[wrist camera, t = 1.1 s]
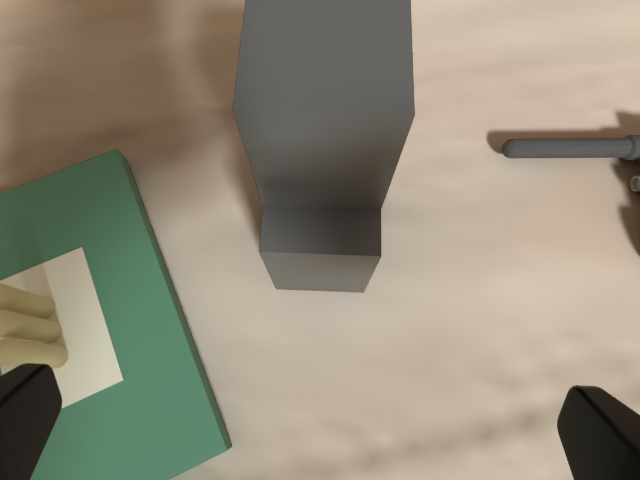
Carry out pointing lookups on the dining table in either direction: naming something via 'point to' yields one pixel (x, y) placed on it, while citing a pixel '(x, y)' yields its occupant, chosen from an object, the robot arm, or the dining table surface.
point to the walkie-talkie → (577, 149)
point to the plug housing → (324, 131)
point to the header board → (102, 328)
